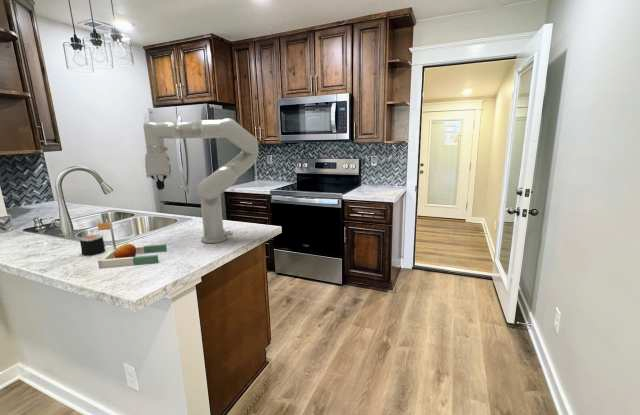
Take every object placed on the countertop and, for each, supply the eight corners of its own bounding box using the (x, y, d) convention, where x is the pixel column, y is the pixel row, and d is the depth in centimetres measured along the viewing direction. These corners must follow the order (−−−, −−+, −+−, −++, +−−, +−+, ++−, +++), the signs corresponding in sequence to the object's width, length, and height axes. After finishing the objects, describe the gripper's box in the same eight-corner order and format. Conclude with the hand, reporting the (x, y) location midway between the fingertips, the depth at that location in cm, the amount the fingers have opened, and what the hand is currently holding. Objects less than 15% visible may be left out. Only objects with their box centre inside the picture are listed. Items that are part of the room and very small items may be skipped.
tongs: (166, 250, 140) (162, 219, 136) (157, 262, 125) (152, 228, 122) (104, 255, 134) (98, 223, 131) (87, 269, 120) (80, 233, 116)
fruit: (132, 260, 125) (120, 244, 123) (118, 269, 126) (106, 253, 125) (145, 253, 132) (134, 238, 131) (132, 261, 134) (121, 246, 133)
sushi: (89, 257, 133) (86, 239, 131) (79, 254, 136) (75, 237, 135) (108, 251, 140) (106, 234, 138) (98, 248, 143) (95, 232, 142)
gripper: (175, 149, 144) (179, 187, 148) (140, 150, 141) (146, 188, 145) (171, 150, 137) (176, 189, 141) (135, 150, 134) (141, 191, 138)
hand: (160, 189), depth 143 cm, fingers closed
